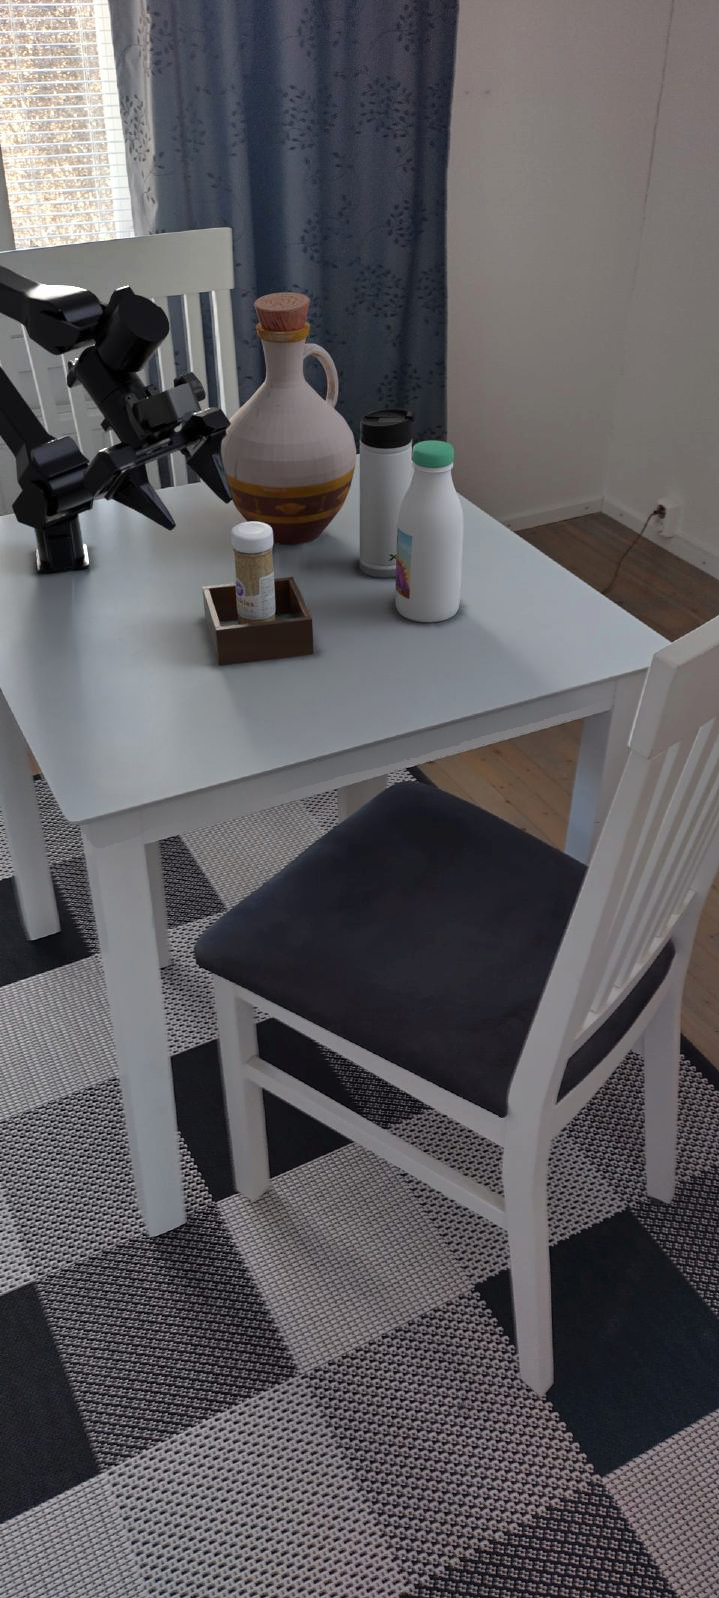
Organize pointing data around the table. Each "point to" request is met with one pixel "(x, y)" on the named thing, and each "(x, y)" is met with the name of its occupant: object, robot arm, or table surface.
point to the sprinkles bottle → (254, 572)
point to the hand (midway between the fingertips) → (202, 514)
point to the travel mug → (383, 486)
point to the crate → (258, 626)
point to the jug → (289, 433)
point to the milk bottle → (429, 538)
